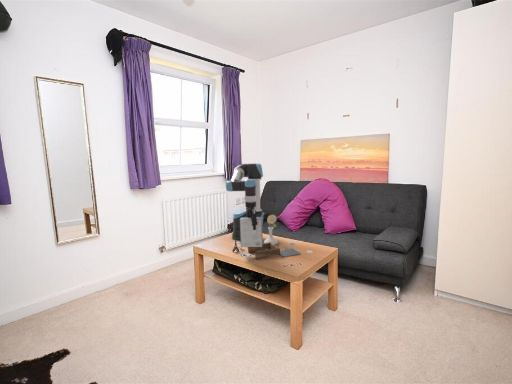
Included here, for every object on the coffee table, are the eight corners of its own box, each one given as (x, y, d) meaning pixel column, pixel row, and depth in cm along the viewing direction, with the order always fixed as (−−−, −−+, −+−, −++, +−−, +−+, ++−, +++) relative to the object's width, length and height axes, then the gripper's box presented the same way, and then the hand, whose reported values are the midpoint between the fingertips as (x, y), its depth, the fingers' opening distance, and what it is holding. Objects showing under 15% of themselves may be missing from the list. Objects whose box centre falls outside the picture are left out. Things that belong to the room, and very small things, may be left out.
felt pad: (276, 251, 202) (276, 251, 202) (292, 249, 207) (292, 248, 207) (283, 257, 191) (283, 256, 191) (300, 254, 196) (300, 253, 196)
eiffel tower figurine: (234, 256, 197) (233, 238, 195) (224, 253, 203) (223, 236, 201) (247, 250, 208) (247, 233, 207) (238, 247, 215) (237, 231, 213)
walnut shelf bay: (248, 252, 203) (247, 245, 202) (270, 248, 209) (270, 242, 209) (256, 259, 187) (255, 252, 187) (280, 255, 194) (279, 248, 193)
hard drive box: (263, 243, 198) (262, 216, 195) (262, 247, 190) (261, 219, 187) (241, 243, 199) (241, 217, 196) (240, 247, 192) (239, 219, 189)
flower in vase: (261, 243, 221) (260, 213, 218) (271, 241, 228) (271, 211, 224) (271, 248, 210) (270, 216, 207) (282, 244, 217) (281, 214, 214)
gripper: (240, 199, 199) (241, 228, 202) (251, 204, 178) (252, 237, 182) (250, 198, 202) (251, 227, 205) (261, 203, 181) (262, 235, 184)
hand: (251, 232), depth 193 cm, fingers closed on hard drive box, 10 cm apart
